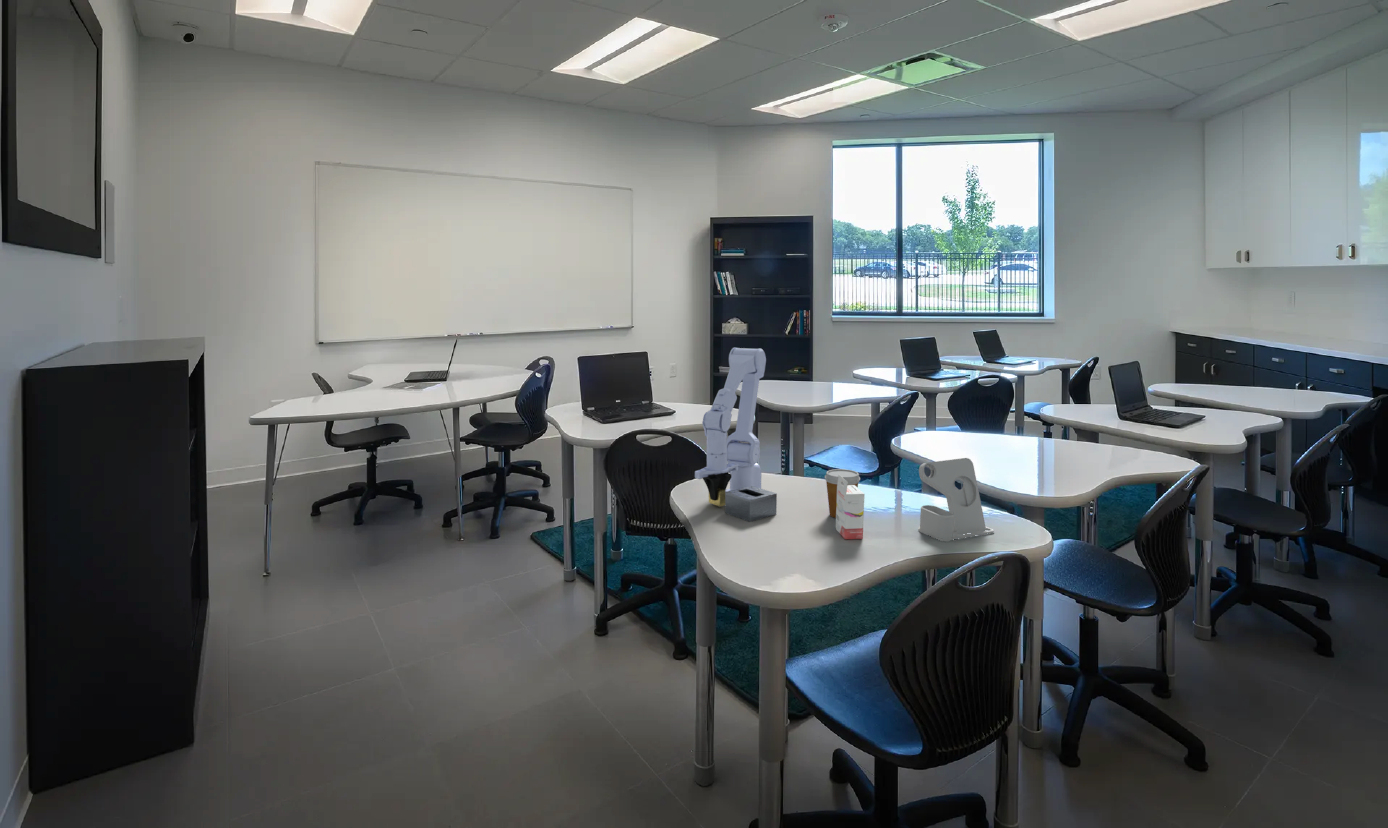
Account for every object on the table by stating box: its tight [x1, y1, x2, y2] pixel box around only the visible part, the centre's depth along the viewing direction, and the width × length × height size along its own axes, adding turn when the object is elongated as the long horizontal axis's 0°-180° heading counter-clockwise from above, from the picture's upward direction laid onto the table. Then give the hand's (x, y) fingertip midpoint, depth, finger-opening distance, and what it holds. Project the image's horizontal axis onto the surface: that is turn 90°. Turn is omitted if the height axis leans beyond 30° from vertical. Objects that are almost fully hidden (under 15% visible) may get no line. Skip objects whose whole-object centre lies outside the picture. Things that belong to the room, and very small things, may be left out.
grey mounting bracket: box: [917, 457, 995, 542], centre depth 181 cm, size 17×10×18 cm, turn 112°
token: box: [708, 488, 725, 507], centre depth 204 cm, size 2×5×4 cm, turn 38°
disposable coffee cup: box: [824, 468, 861, 519], centre depth 194 cm, size 10×10×12 cm
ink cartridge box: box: [835, 475, 865, 540], centre depth 180 cm, size 9×5×15 cm, turn 5°
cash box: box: [724, 486, 778, 523], centre depth 197 cm, size 10×10×6 cm
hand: (717, 498), depth 204 cm, fingers closed on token, 2 cm apart
